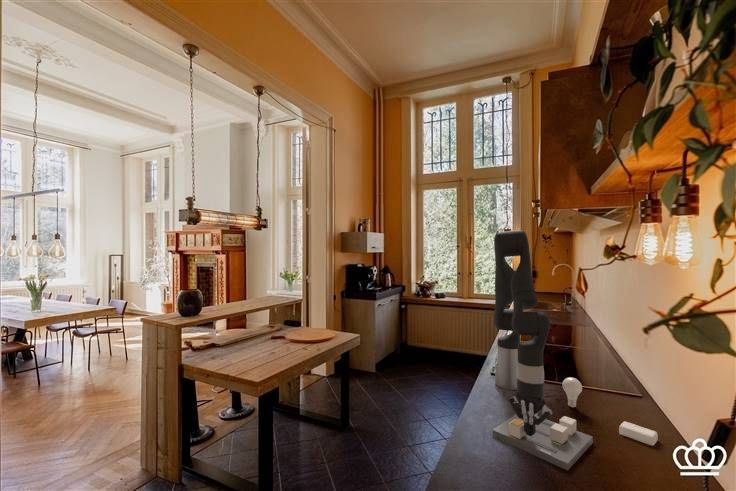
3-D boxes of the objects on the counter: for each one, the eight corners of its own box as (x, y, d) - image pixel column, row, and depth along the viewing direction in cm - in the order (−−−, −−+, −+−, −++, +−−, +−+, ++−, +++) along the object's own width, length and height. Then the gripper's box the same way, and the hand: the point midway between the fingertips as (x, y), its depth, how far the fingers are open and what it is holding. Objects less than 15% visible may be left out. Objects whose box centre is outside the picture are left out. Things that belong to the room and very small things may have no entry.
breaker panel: (492, 435, 110) (492, 417, 110) (522, 415, 123) (522, 399, 123) (567, 470, 93) (567, 449, 93) (592, 443, 106) (592, 424, 106)
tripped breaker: (508, 434, 107) (508, 421, 107) (515, 429, 110) (515, 417, 110) (519, 439, 104) (519, 426, 104) (526, 434, 107) (526, 422, 107)
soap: (618, 434, 112) (618, 425, 112) (623, 429, 115) (623, 420, 115) (653, 447, 105) (653, 437, 105) (658, 441, 108) (658, 431, 108)
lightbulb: (562, 408, 128) (562, 379, 128) (562, 401, 134) (562, 373, 134) (582, 412, 125) (582, 382, 125) (581, 405, 131) (581, 376, 131)
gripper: (503, 374, 107) (502, 430, 107) (547, 388, 97) (547, 449, 97) (514, 368, 112) (514, 421, 112) (558, 381, 102) (558, 439, 102)
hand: (529, 434), depth 104 cm, fingers closed
